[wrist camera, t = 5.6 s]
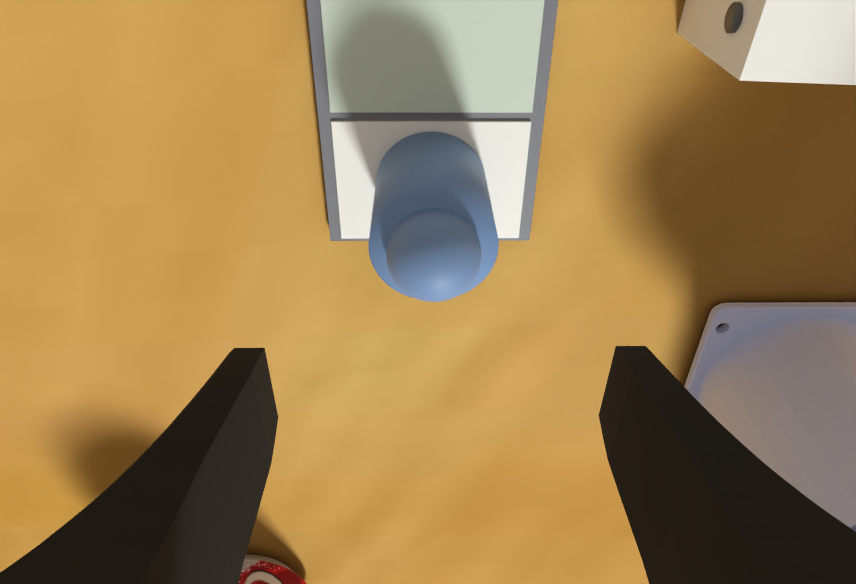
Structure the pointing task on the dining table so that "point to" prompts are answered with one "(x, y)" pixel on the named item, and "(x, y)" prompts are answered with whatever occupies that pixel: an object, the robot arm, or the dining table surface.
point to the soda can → (267, 571)
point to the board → (430, 95)
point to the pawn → (432, 218)
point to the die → (776, 38)
